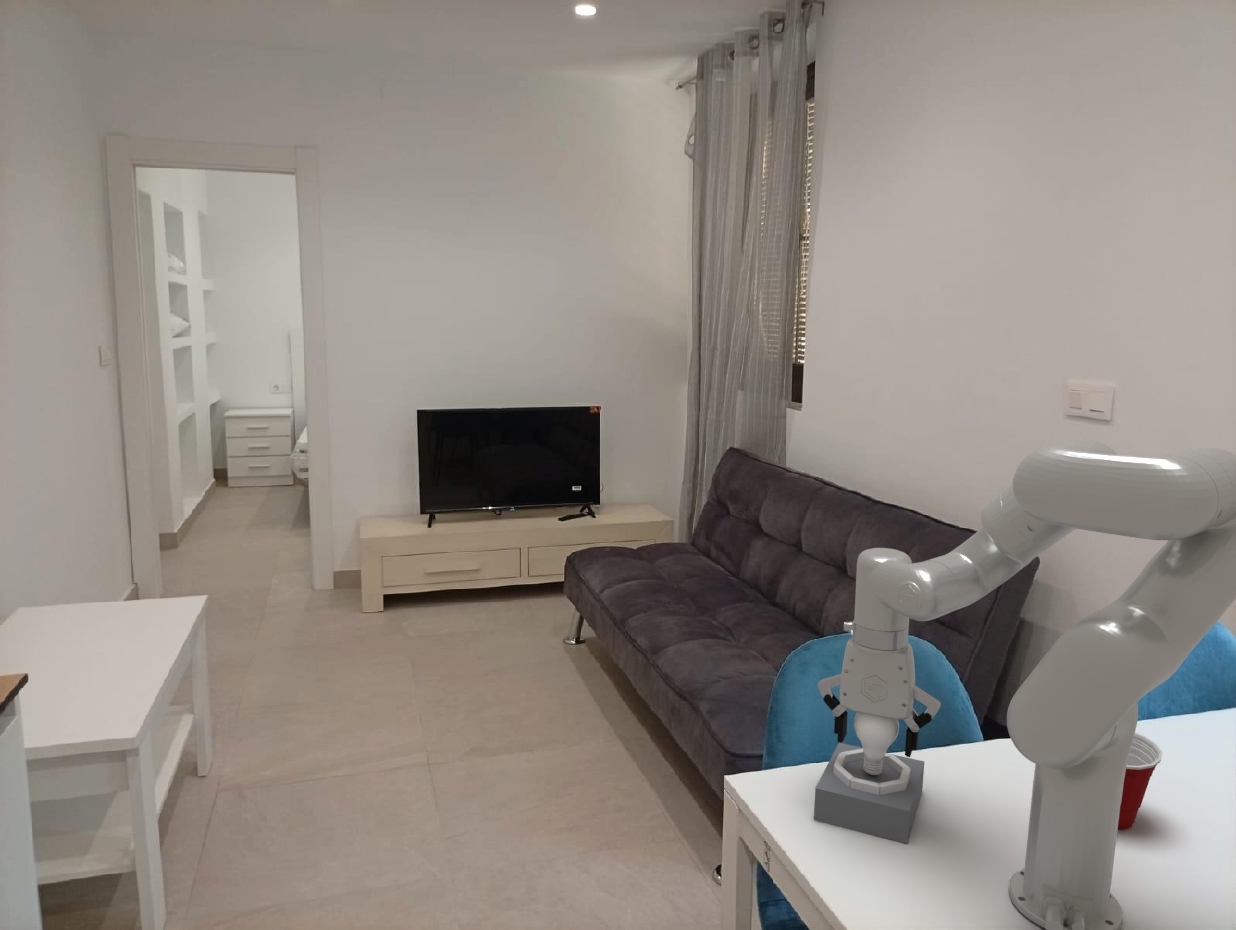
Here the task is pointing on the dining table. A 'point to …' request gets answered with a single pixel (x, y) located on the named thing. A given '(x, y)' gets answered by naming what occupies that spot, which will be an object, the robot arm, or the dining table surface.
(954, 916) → the dining table surface
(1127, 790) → the plastic cup
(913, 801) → the octagon ring base plate
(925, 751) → the dining table surface
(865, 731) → the lightbulb
